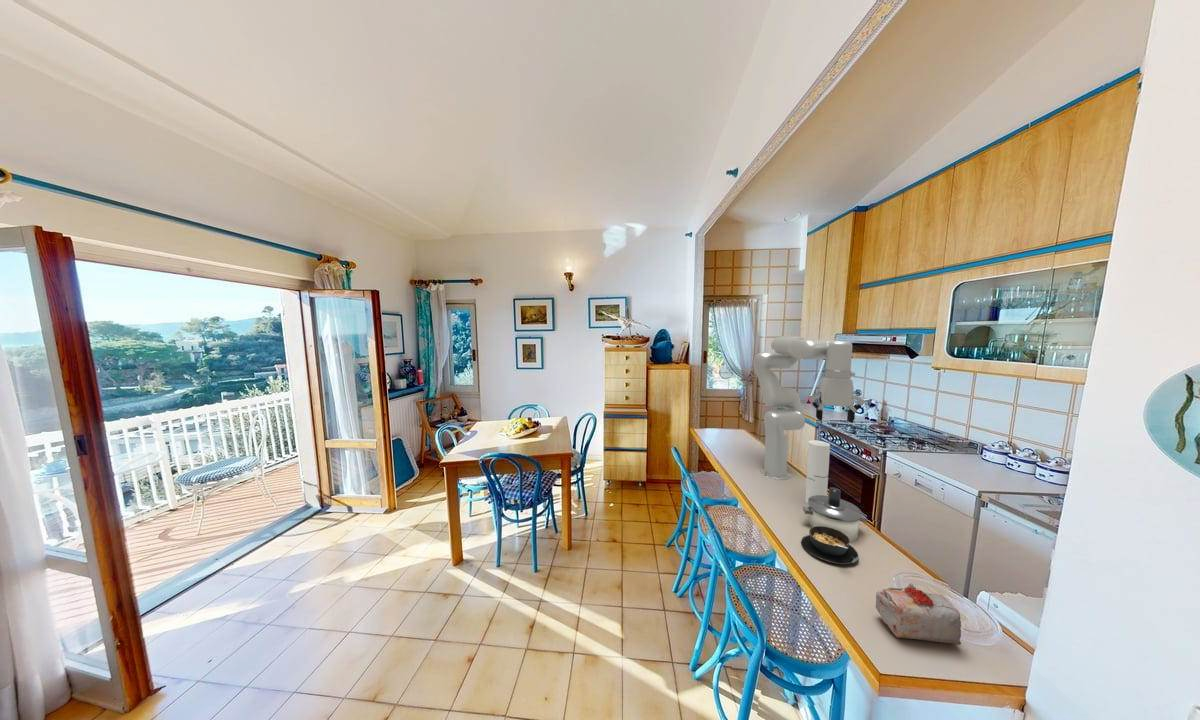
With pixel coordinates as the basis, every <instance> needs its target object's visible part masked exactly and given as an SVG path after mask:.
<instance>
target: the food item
mask: <svg viewBox="0 0 1200 720" xmlns="http://www.w3.org/2000/svg"><path fill="white" fill-rule="evenodd" d="M874 607H875V609H876V610H877V612H878V613H879V615H880V617H881V618H882V621H883V622H884V623H885V624H886V626H887V627H888V628H889V630H890V631H891V632H892V633H893V635H895V637H896V638H899V639H907V640H908V639H909V640H910V639H911V640H920V641H928V642H934V643H945V644H952V645H961V644H962V642H961V637H962V628H961V627H962V622H961V613H960V611H959V610H958V609H957V608H955V606H954V605H953V603H952V602H950V601H949V600H948V598H946V597H945V596H943V595H942V594H937V593H936V594H935V593H930V592H929V593H928V592H924V591H922V590H921V589H917V588H916V587H915V586H914V584H912V583H909V584H908V586H906V587H904V588H899V587H888V588H882V590H881V591H879V590H878V591H877V592H876V593H875V605H874Z"/></svg>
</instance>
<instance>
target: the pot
mask: <svg viewBox="0 0 1200 720" xmlns="http://www.w3.org/2000/svg"><path fill="white" fill-rule="evenodd" d="M802 510H803V511H802V512H804V514H806V515H809V520H808V521H809V525H810V528H813V527H814V526H815V527H816V526H824V527H829V528H833V529H835V530H838V531H840V532H842V533H844V534H845V535H846V536H847V537H848V538H849V540H850V543H851V542H855V541H857V540H858V538H859V527H860V522H863V523H867V522H868V518H867V516H866V515H865V514H863V513H862V515H861V519H860V520H858V521H854V522H845V521H838V520H834V519H831V518H828V517H825V516H822V515H820V514H818V513H817V512H815V511H813V510H812V509H811V508H810V507H809V506H804V505H803V506H802Z"/></svg>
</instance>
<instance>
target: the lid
mask: <svg viewBox="0 0 1200 720" xmlns="http://www.w3.org/2000/svg"><path fill="white" fill-rule="evenodd" d="M807 504H808V507H810V508H811V509H812V510H813V511H815V512H817V513H818V514H820V515H822V516H825V517H828V518H831V519H834V520H838V521H845V522H854V521H858V520H860V519H861V515H862V514H863V513H862V510H861V509H860V508H859V507H858V506H857V505H855V504H854V503H851V502H849V501H847V500H844V499H842V498H841V489H839V488H837V487H833V486H832V487H829V489H828V495H827V496H824V495H816V496H811V497H810V498H809V499H808V503H807Z"/></svg>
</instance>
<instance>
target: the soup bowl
mask: <svg viewBox="0 0 1200 720" xmlns="http://www.w3.org/2000/svg"><path fill="white" fill-rule="evenodd" d="M800 543H801V545H802V547H803V548H804V549H805V551H807V552H808V553H810V554H811V555H812V556H814V557H815V558H817V559H821V560H822V561H824V562H825V561H826V562H827V563H833V564H837V565H849V564H855V563H856V562H858V561H859V559H860V556H859V552H858V551H857V550H856V549H855V547H854V546H852V545H851V544H850V543H851V542H850V540H849V538H848V537H847V536H846V535H845V534H844V533H842V532H840V531H838V530H835V529H833V528H829V527H824V526H816V527H815V526H814V527H813V528H812V527H810V528H809V531H808V534H807V535H806V534H805V536H803V537H801V540H800Z"/></svg>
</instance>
